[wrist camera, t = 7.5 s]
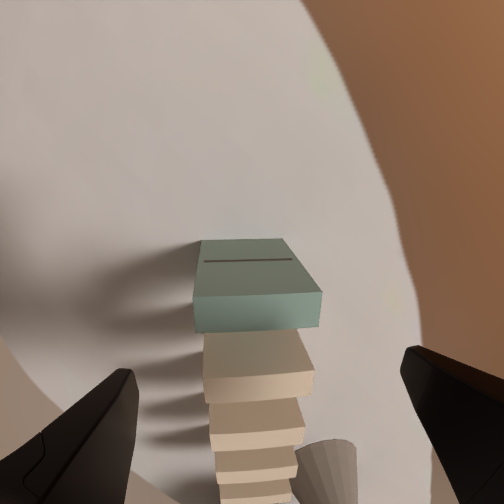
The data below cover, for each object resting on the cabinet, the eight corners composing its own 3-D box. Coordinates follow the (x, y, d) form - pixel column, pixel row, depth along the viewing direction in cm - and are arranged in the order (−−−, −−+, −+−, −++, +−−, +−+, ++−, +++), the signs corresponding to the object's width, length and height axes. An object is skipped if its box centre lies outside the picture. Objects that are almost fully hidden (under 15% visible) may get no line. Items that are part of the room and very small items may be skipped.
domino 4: (275, 400, 24) (295, 477, 16) (214, 404, 23) (217, 484, 16) (276, 385, 23) (298, 464, 16) (213, 389, 23) (215, 472, 15)
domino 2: (280, 317, 21) (311, 395, 14) (207, 320, 21) (205, 403, 13) (281, 295, 21) (314, 369, 13) (205, 298, 20) (202, 377, 13)
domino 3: (278, 363, 23) (302, 443, 15) (210, 366, 22) (212, 451, 15) (279, 345, 22) (305, 426, 15) (209, 349, 22) (209, 434, 14)
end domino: (273, 429, 25) (290, 501, 17) (217, 433, 25) (221, 507, 17) (274, 418, 25) (292, 492, 17) (216, 422, 24) (220, 499, 16)
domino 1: (201, 239, 19) (192, 296, 12) (282, 238, 20) (322, 291, 12) (202, 265, 20) (195, 333, 12) (281, 263, 20) (318, 327, 13)
